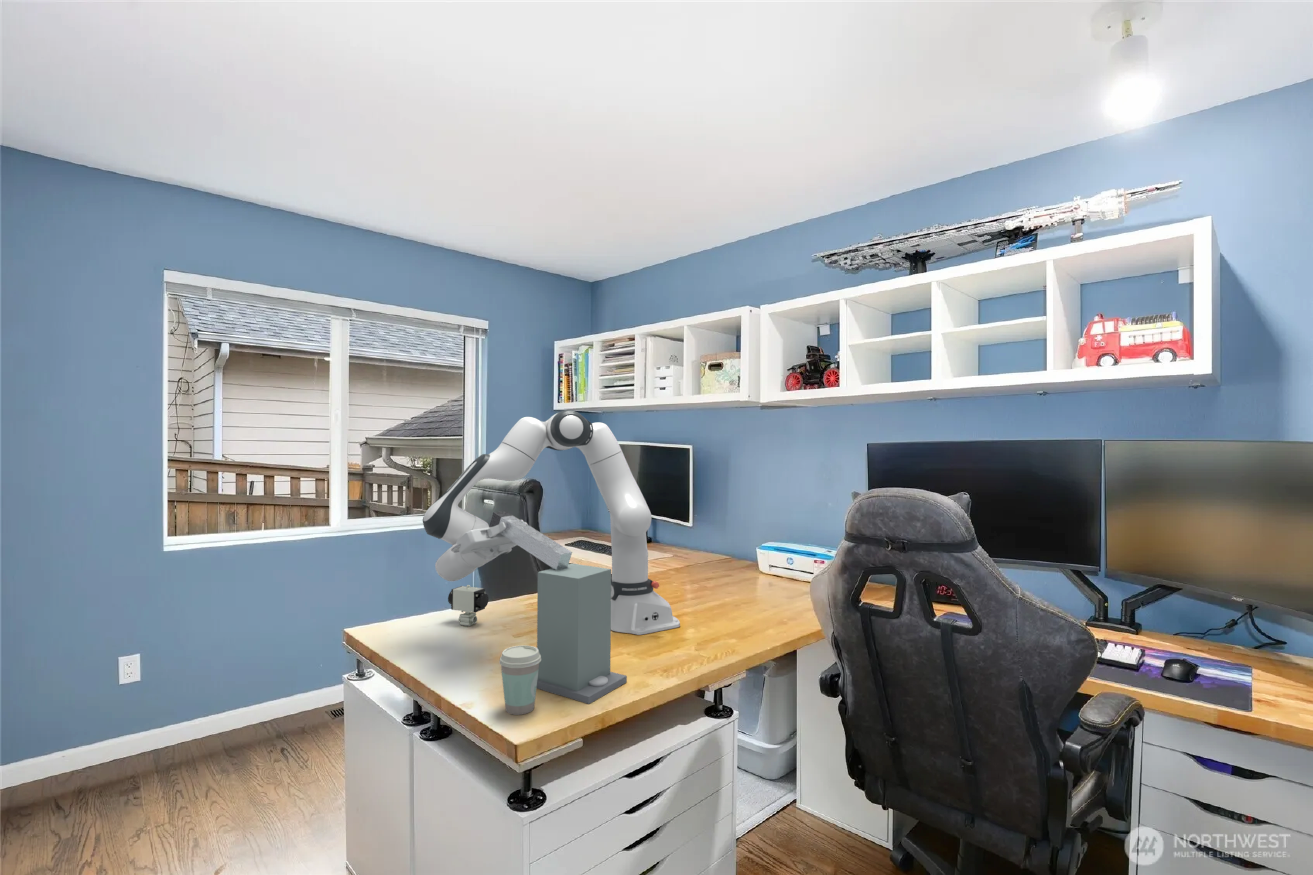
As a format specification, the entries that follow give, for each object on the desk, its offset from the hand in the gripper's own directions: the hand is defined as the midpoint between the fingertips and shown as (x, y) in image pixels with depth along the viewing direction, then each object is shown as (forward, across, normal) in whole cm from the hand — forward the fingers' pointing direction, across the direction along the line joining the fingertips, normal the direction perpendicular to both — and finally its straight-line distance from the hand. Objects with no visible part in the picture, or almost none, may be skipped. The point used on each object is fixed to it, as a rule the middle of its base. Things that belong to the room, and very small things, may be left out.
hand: (513, 523), depth 151 cm
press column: (+1, 0, +41) cm, 42 cm away
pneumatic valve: (-49, +17, +13) cm, 54 cm away
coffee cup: (-1, -16, +40) cm, 44 cm away
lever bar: (+1, 0, +7) cm, 7 cm away
